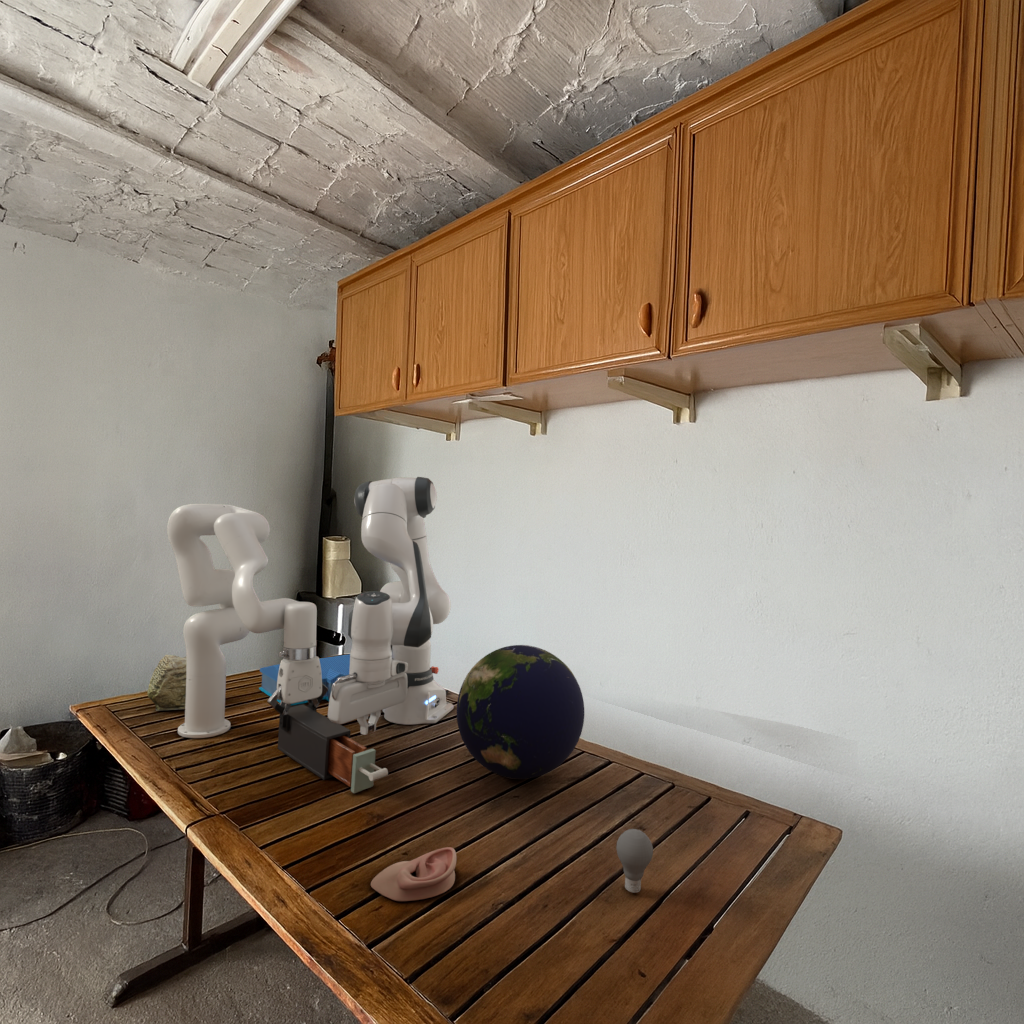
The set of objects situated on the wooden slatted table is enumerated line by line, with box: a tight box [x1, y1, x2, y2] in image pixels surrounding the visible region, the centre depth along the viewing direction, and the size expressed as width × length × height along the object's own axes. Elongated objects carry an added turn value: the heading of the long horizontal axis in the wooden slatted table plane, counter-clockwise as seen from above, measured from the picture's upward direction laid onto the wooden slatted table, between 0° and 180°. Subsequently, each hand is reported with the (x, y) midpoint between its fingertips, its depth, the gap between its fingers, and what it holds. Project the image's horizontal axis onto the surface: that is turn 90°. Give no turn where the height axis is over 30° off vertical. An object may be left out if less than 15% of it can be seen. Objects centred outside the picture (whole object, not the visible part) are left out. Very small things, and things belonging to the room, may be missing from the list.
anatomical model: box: [370, 846, 458, 902], centre depth 106 cm, size 13×4×12 cm
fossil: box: [147, 654, 187, 712], centre depth 185 cm, size 9×18×15 cm, turn 132°
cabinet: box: [277, 703, 351, 781], centre depth 150 cm, size 21×6×10 cm, turn 49°
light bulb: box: [615, 828, 654, 894], centre depth 106 cm, size 6×6×10 cm
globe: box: [456, 644, 585, 780], centre depth 149 cm, size 30×30×30 cm
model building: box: [258, 653, 350, 707], centre depth 208 cm, size 39×24×10 cm, turn 132°
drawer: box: [327, 735, 389, 794], centre depth 142 cm, size 25×5×8 cm, turn 49°
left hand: (298, 725), depth 155 cm, fingers closed on cabinet, 6 cm apart
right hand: (368, 732), depth 136 cm, fingers closed
